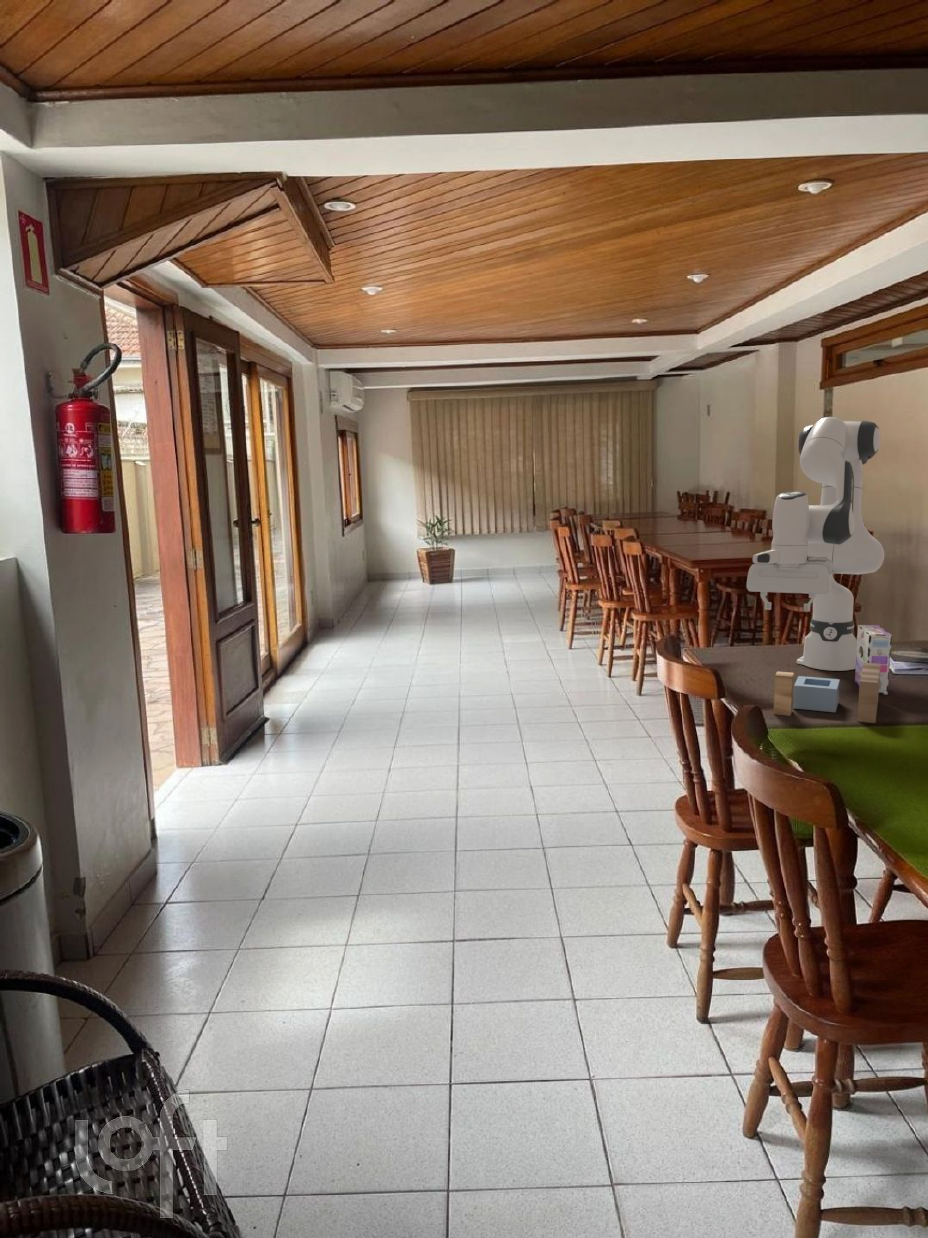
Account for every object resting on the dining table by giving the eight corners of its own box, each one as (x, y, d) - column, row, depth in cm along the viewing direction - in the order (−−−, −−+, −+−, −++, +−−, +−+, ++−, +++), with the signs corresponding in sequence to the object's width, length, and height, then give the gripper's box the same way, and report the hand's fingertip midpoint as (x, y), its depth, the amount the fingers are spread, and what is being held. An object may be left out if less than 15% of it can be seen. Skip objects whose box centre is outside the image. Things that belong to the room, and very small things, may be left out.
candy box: (888, 695, 237) (892, 634, 234) (865, 694, 239) (868, 634, 236) (876, 681, 251) (879, 624, 248) (853, 681, 252) (857, 623, 249)
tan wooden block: (775, 709, 227) (777, 671, 226) (792, 711, 226) (793, 672, 224) (773, 713, 224) (775, 675, 222) (790, 715, 222) (792, 676, 220)
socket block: (797, 698, 236) (798, 675, 235) (838, 701, 232) (839, 679, 231) (793, 708, 227) (794, 685, 226) (835, 712, 223) (836, 689, 222)
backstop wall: (861, 699, 234) (863, 662, 232) (878, 701, 232) (880, 663, 230) (857, 721, 216) (859, 681, 215) (875, 723, 215) (878, 682, 213)
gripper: (834, 556, 226) (831, 610, 228) (750, 554, 235) (748, 607, 237) (832, 557, 221) (830, 613, 222) (746, 556, 229) (744, 609, 231)
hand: (787, 610), depth 230 cm, fingers open, 8 cm apart
